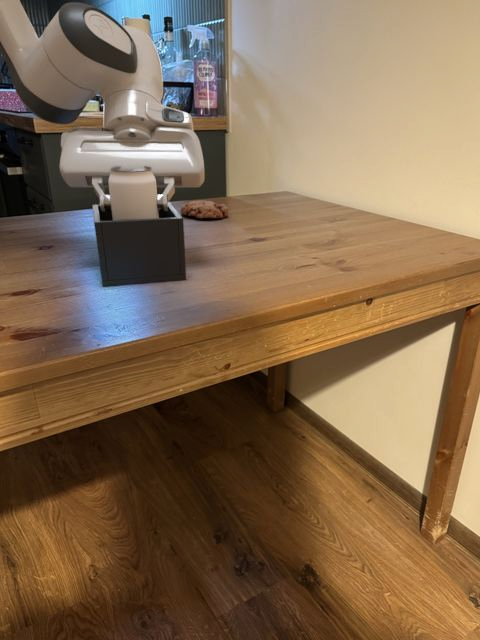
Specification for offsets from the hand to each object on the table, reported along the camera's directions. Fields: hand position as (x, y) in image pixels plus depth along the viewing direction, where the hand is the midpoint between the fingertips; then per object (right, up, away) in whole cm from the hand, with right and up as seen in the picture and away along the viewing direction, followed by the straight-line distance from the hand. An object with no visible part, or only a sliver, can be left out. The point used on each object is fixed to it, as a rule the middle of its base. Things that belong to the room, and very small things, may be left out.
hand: (134, 209), depth 70 cm
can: (0, -6, +4) cm, 7 cm away
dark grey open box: (0, -8, +5) cm, 9 cm away
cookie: (+5, +9, +38) cm, 40 cm away
